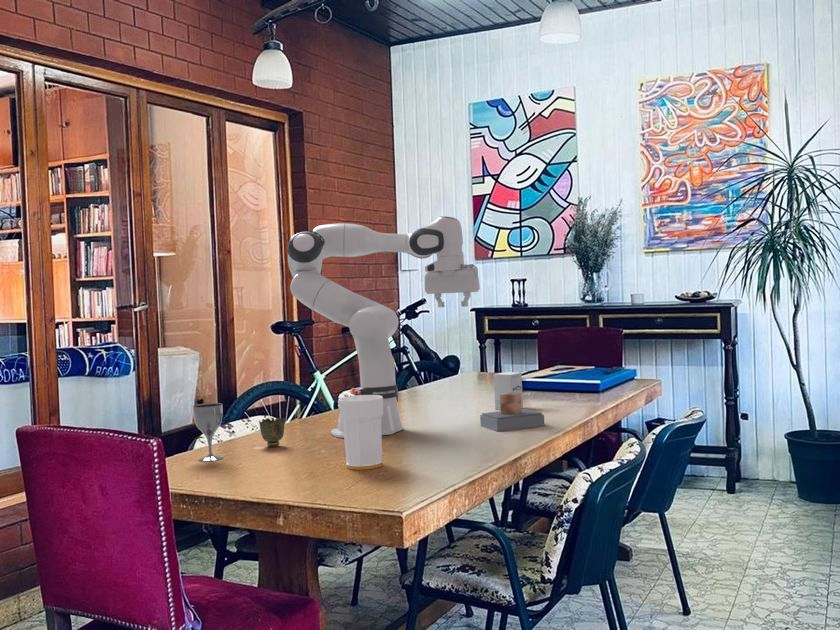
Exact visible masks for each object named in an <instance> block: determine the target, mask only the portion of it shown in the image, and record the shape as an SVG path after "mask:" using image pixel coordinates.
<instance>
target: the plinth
mask: <svg viewBox="0 0 840 630" xmlns="http://www.w3.org/2000/svg"><path fill="white" fill-rule="evenodd" d="M479 421H480V427H482V428H485V429H488V430H491V431H495V432H503V431H505V432H506V431H510V430H521V429H527V428H528V429H529V428H530V429H531V428H537V427H544V426H546V425H545V414H543V413H542V412H540V411H536V410H533V409H527V408H522V412H521V413H518V414H516V415H515V414H501V410H497V411H492V412H482V414H480V416H479Z"/></svg>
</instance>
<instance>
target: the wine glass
mask: <svg viewBox="0 0 840 630" xmlns="http://www.w3.org/2000/svg"><path fill="white" fill-rule="evenodd" d="M192 414H193V415H192V416H193V420H194V424H195V426H196V428H197V429H198V430H199V431H200V432H201V433H202V434H203V435H204V436H205V438H206V440H207V445H208V454H207V455H206V456H204V457H201V458H198V459H197V461H198V462H202V463H203V462H205V463H206V462H217V461H221V460H223V459H224V458H225V456H223V455H215V454H213V452H212V451H213V450H212V448H213V447H212V444H213V443H212V442H213V437H214V435H215V433H216V432H217V430H218V429H219V428H220V426H221V425H222V421H223V403H221V402H209V403H208V402H207V403H199V404H195V405H192Z"/></svg>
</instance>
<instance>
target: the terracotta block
mask: <svg viewBox="0 0 840 630" xmlns="http://www.w3.org/2000/svg"><path fill="white" fill-rule="evenodd" d="M500 406H501V410H500V411H501V414H515V415H516V414H518V413H521V412H522V409H523V408H522V406H521V393H503V394H501V395H500Z"/></svg>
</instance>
